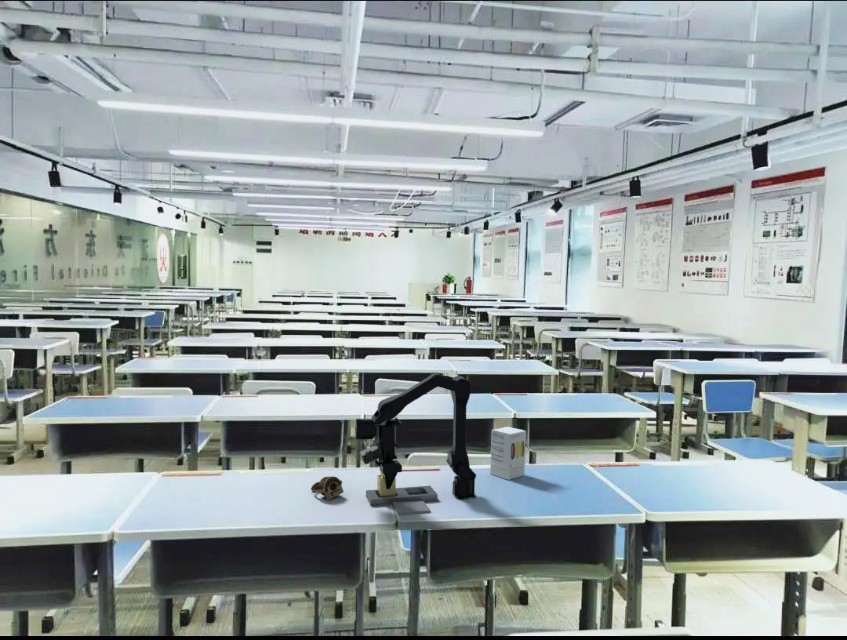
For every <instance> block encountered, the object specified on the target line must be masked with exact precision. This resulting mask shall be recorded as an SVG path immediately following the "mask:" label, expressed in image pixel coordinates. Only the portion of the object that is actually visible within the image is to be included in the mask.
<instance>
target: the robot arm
mask: <svg viewBox="0 0 847 640" xmlns="http://www.w3.org/2000/svg"><path fill="white" fill-rule="evenodd" d="M436 388H442V389H445V390H446V391H447V390H448V391H450V395H451V399H452V404H453V413H452V415H453V416H452V418H453V419H452V421H453V423H452V430H453V431H452V446H451V448H450V449H447V450H446V453H447V454H446V455H447V456H446V457H447V458H446V462H447V464H448V467H449V468H450V469H451V471H452V472H453V473H454V474H455V475H454V476H453V477H454V478H453V481H452V492H451V493H452V494H453V496H454V497H456V499H457V500H462V499H463V500H464V499H465V500H466V499H475V498H477V495H476V493H475V491H476V490H475V487H476V486H475V484H476V477H477V474H476V473H475V471H474V470H472V468H471V467H470V466H471V465H470V460H469V455H468V452H467V448H466V447H467V446H466V444H467V441H466V440H467V406H468V402H469V400H470V398H471V391H472V385H471V382H470V381H469V380H468V379H466V378H464V376H460V375H457V376H456V375H455V376H454V377H453V376H450V375H443V374H439V373H437V372H434V373H433V372H432V373H431V374H430V375H429V376H427V377H426V378H424V379H423V380H421V381H419V382H417V383H416V384H415V385H413V386H411V387H409V388H408V389H406V390H405V391H402V392H401V393H399V394H396V395H392V396H389V397H387V398H384V399H381V400H380V401H379V402H378V405H377V409H376V411H375V412H374V414H373V415H372V416H371V418H356V419H355V426H354V440H355V441H373V440H374V439H375V438H376V437H377V440H376V441H375V445H374V446H371V447H368V448H366V449H363V450H361V451H360V452H359V454H360V457H361V459H362V462H363V463H364V465H368V464H370V463H372V462H374V463H375V464H376V466H377V467H378V468H379V471H380V473H381V472H382V473H383V474H384V477H385V484H386V489H390V488H391V485H392V483H393V481H394V479H395V478H396V477H397V475H398V473H402V472H403V465H402V463H401V462H400V461H398V456H397V454H396V453H397V452H396V451H397V447H398V443H397V441H396V440H397V438H396V437H397V431H396V430H397V427H401V426H403V424H402V422H401V421H400V420H399V418H398V417H397V416H398V415H399V414H401V413H402V411H403V410H404V409H405V408H406V407H407V406H408V405H410V404H411V403H414V401H416V400H419V398H422V397H423V396H424V395H426V394H428V393H430V392H431V391H433V390H434V389H436Z"/></svg>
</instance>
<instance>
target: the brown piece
mask: <svg viewBox="0 0 847 640" xmlns="http://www.w3.org/2000/svg"><path fill="white" fill-rule="evenodd" d="M310 490H311V491H313V493H316V494H318V493H319V494H320V495H321V496H323V497H326V499H327V501H330V500H331V499H333V498H335V497H337V496H339V495H341V494H343V493H344V489H343V481H342V480H341V479H340V478H338V477H337V476H335V475H333V476H332V475H331V476H324V477H322V478H320V480H319V481H317V482H315V483H313V484H312V485H311V488H310Z"/></svg>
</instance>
